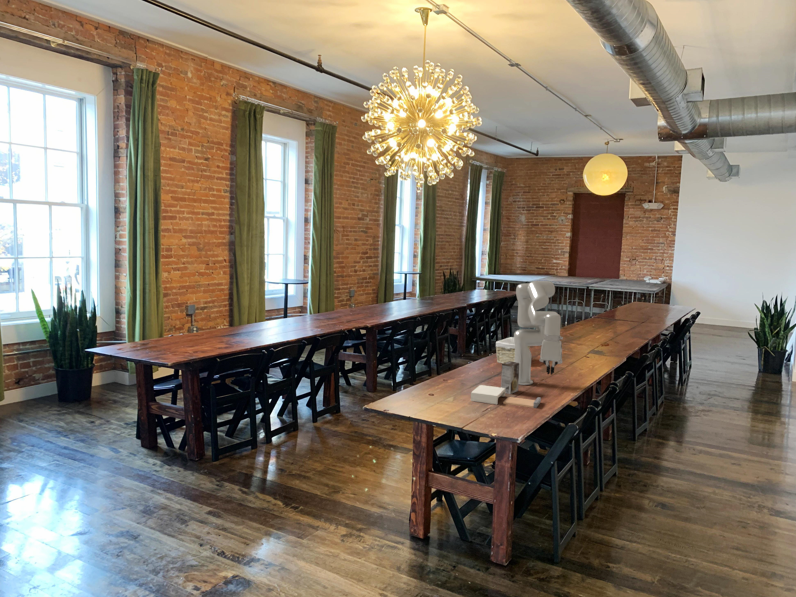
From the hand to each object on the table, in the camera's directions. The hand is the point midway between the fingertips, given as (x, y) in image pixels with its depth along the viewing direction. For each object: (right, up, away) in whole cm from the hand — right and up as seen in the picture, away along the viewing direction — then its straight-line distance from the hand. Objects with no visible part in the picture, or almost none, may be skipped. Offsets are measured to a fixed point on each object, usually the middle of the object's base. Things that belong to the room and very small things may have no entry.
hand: (550, 373), depth 294 cm
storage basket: (+2, -5, +106) cm, 106 cm away
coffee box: (-15, -14, +29) cm, 36 cm away
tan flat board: (-13, -16, +7) cm, 22 cm away
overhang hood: (-29, -15, +15) cm, 36 cm away
